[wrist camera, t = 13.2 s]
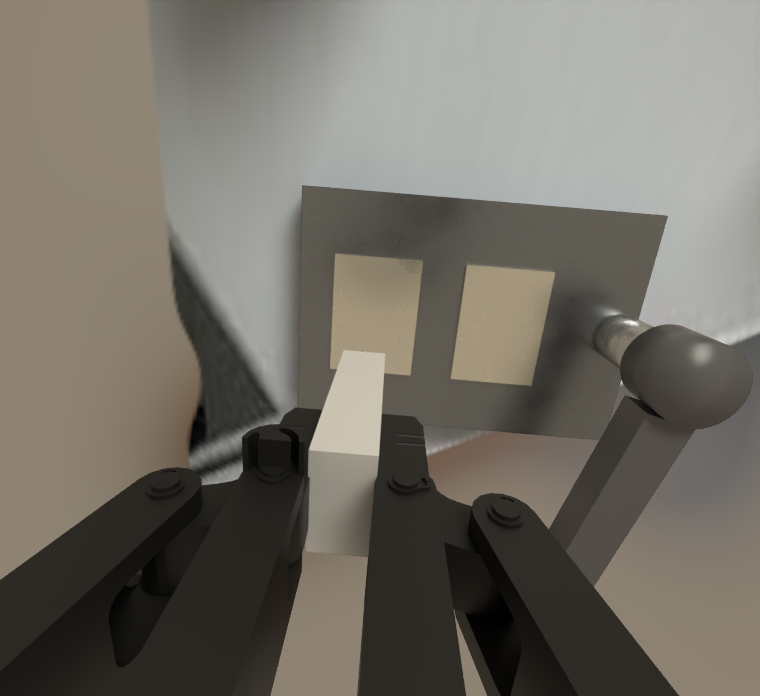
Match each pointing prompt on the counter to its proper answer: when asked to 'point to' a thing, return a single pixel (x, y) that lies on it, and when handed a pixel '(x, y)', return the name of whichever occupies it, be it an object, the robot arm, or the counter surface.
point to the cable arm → (648, 436)
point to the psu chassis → (474, 306)
